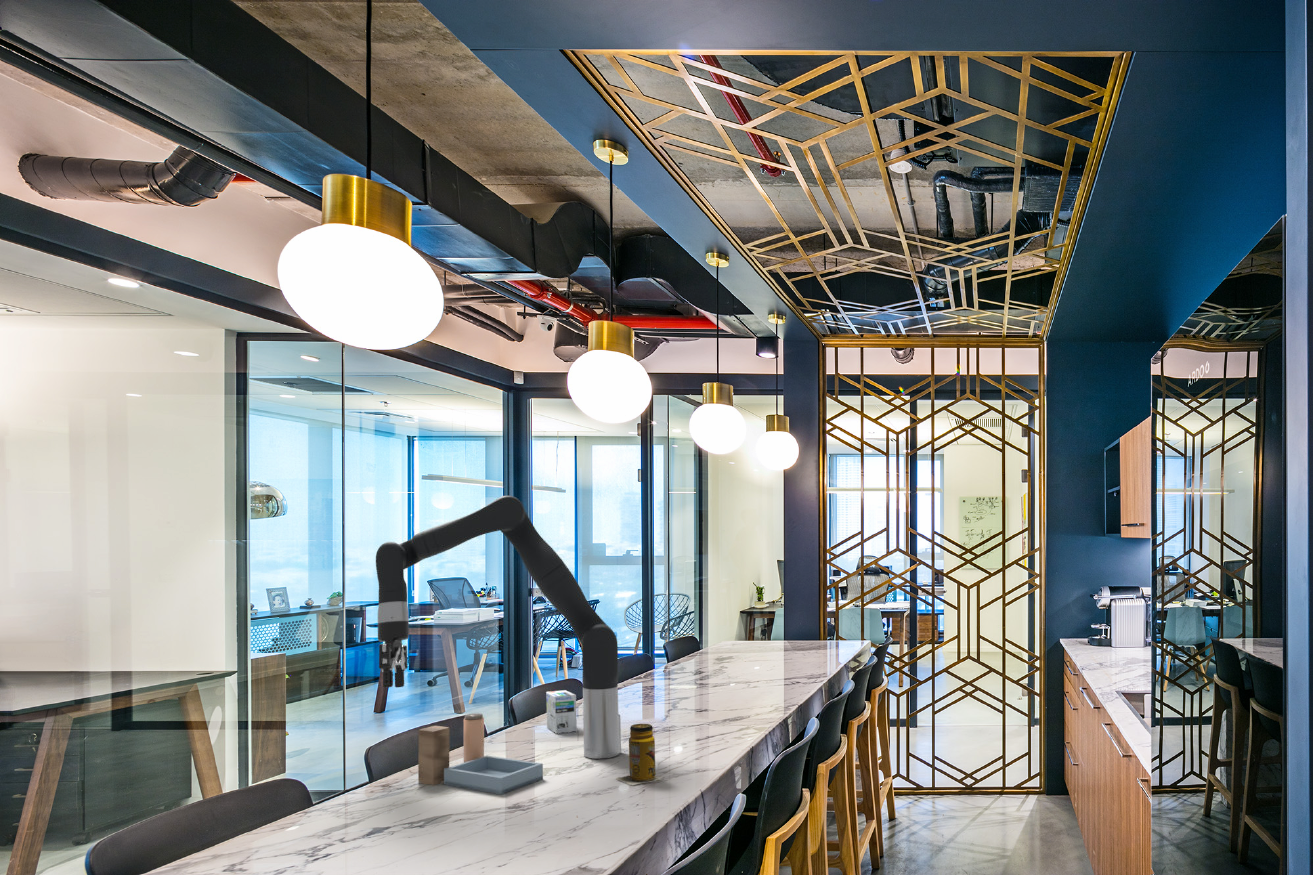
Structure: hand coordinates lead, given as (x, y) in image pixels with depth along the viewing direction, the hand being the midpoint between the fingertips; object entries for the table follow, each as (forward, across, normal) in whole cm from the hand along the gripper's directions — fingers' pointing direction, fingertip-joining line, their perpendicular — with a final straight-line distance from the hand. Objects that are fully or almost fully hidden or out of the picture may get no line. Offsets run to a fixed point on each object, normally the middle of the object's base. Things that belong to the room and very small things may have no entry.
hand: (394, 687), depth 209 cm
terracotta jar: (+21, +6, -18) cm, 28 cm away
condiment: (+27, -8, -59) cm, 66 cm away
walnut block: (+22, -5, -11) cm, 25 cm away
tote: (+24, -7, -26) cm, 36 cm away
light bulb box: (+16, +48, -34) cm, 61 cm away
